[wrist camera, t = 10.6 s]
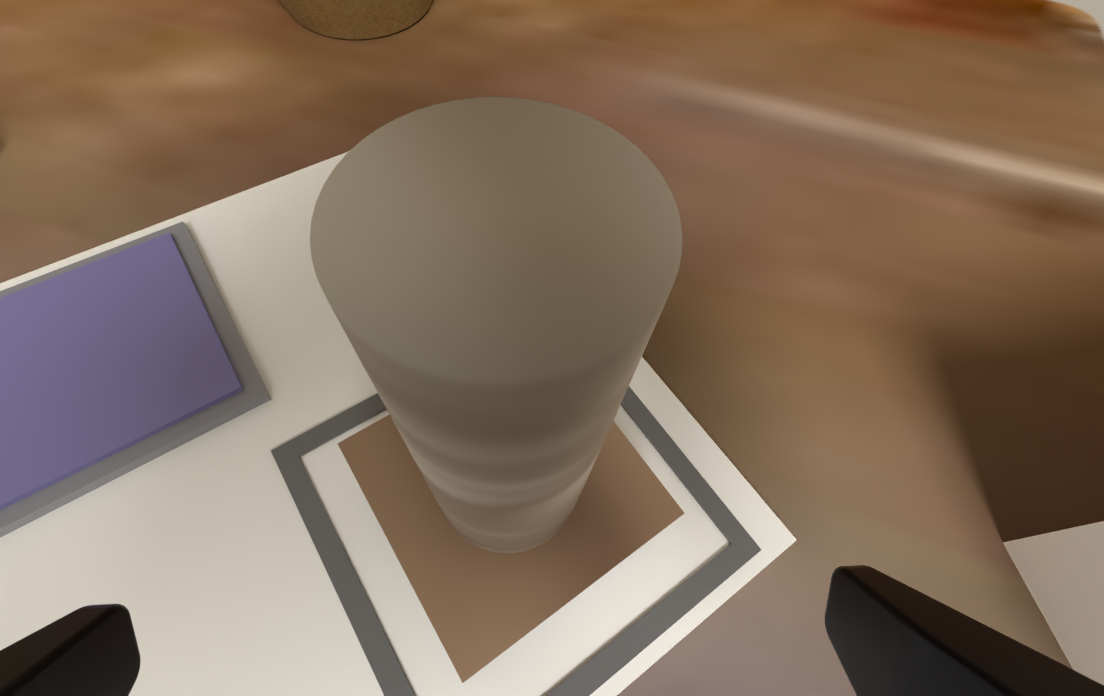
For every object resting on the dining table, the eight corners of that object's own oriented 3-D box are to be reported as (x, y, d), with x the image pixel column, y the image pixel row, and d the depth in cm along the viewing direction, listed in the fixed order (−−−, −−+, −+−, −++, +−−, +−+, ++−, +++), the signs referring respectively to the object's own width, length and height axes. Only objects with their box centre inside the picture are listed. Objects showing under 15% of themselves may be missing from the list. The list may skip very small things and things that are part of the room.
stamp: (472, 675, 13) (324, 789, 3) (366, 477, 16) (67, 137, 5) (655, 535, 15) (962, 301, 5) (538, 375, 18) (574, -24, 7)
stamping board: (-36, 1251, 9) (-105, 1327, 8) (-146, 355, 17) (-189, 336, 16) (787, 543, 16) (806, 536, 15) (441, 128, 24) (438, 104, 23)
